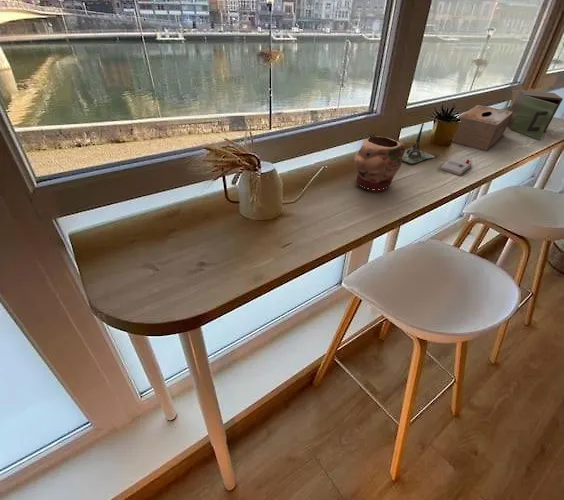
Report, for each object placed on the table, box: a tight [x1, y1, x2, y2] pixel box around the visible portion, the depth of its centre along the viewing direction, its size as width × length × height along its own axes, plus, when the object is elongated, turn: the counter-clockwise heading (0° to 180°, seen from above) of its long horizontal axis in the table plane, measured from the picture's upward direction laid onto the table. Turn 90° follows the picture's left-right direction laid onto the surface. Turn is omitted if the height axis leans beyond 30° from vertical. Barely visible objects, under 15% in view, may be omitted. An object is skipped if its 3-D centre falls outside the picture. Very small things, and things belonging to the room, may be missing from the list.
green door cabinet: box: [507, 89, 564, 133], centre depth 151 cm, size 11×15×15 cm
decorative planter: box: [353, 135, 406, 193], centre depth 99 cm, size 20×12×14 cm, turn 128°
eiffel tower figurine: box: [402, 122, 436, 164], centre depth 118 cm, size 15×10×13 cm
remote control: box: [440, 157, 473, 176], centre depth 114 cm, size 7×16×3 cm, turn 136°
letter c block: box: [509, 96, 558, 140], centre depth 142 cm, size 6×15×14 cm, turn 19°
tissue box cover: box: [451, 104, 513, 152], centre depth 137 cm, size 26×14×10 cm, turn 138°
